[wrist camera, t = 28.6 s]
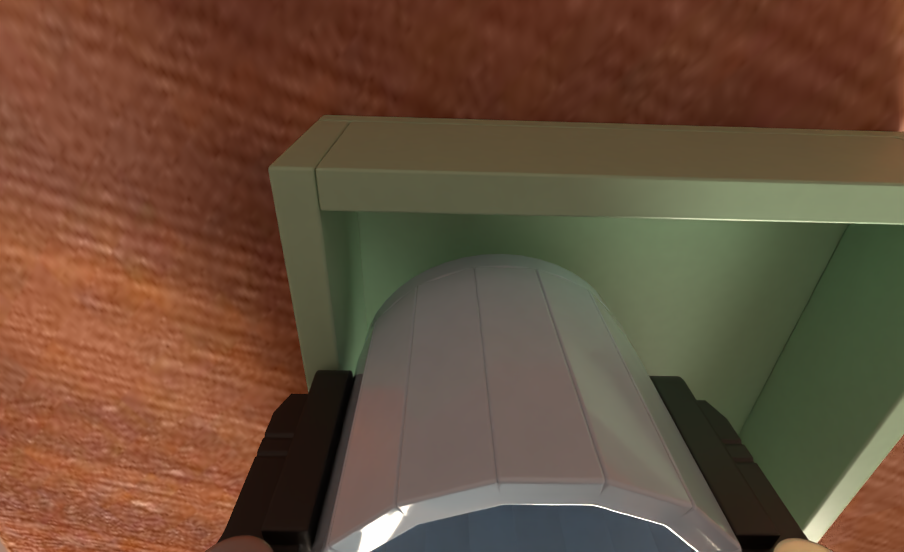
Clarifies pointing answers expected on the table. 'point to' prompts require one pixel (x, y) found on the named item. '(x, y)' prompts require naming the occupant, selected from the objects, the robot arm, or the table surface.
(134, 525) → the table surface
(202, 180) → the table surface
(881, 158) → the tub
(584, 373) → the gray cup
